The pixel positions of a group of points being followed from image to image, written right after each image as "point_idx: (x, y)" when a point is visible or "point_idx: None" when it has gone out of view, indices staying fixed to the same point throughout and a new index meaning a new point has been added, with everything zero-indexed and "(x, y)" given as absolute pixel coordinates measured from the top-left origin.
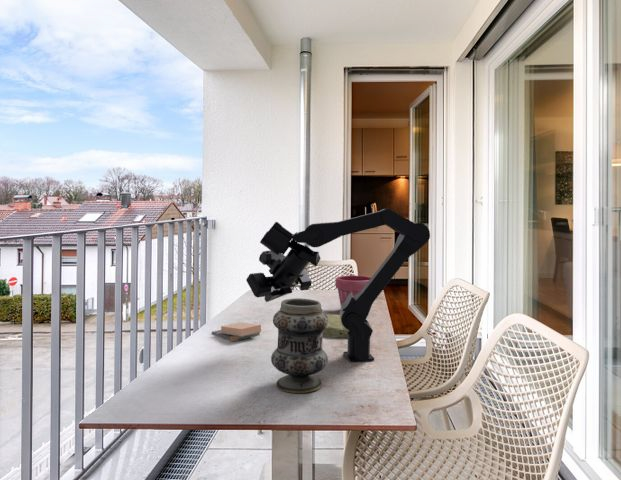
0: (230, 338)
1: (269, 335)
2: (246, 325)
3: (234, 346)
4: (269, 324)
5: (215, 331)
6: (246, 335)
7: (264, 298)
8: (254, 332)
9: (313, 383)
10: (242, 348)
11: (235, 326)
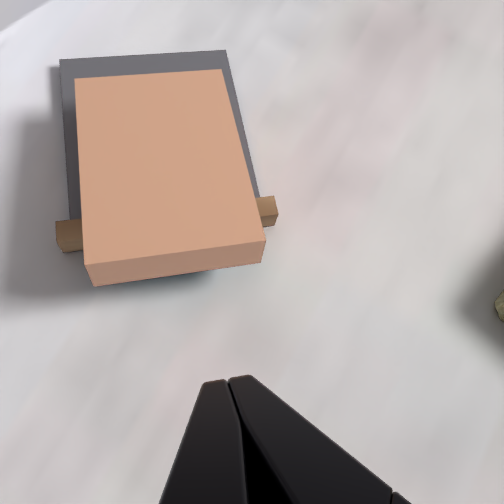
0: (58, 231)
1: (322, 261)
2: (188, 180)
3: (19, 346)
4: (413, 90)
5: (80, 64)
6: (139, 279)
7: (201, 386)
8: (205, 268)
9: None
10: (35, 415)
11: (123, 151)
